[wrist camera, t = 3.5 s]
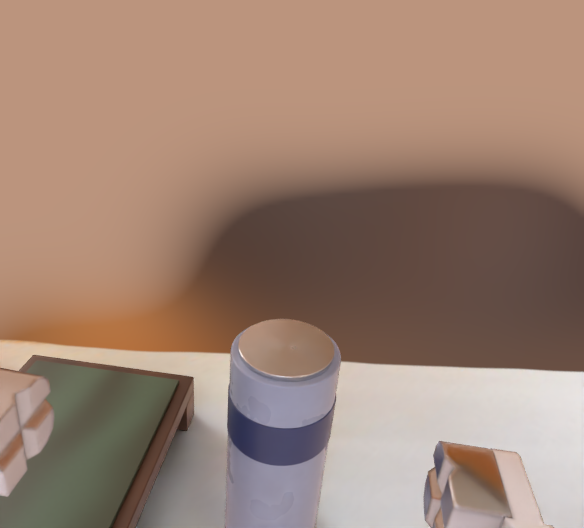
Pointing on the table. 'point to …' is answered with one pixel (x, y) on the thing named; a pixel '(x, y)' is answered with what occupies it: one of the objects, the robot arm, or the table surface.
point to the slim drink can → (279, 423)
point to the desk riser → (98, 445)
